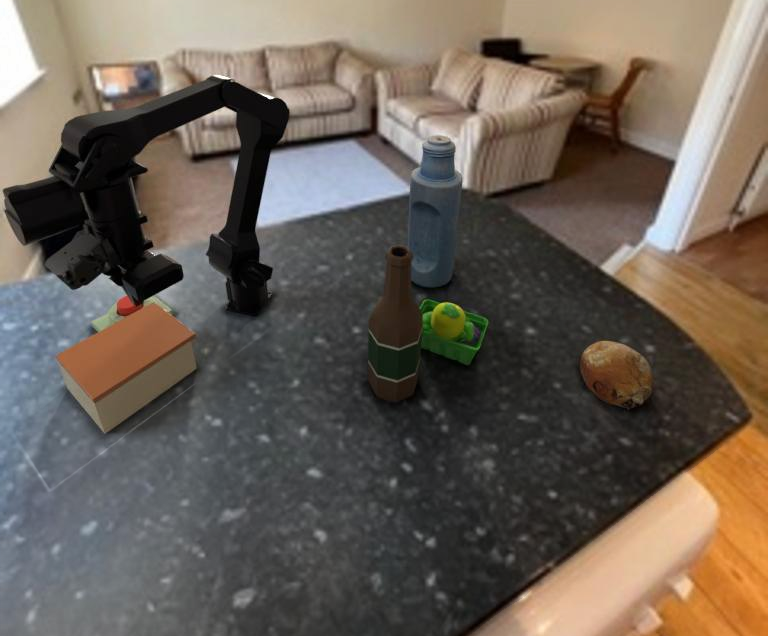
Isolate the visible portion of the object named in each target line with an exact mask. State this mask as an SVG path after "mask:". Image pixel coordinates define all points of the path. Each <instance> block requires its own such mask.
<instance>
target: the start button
mask: <svg viewBox="0 0 768 636" xmlns="http://www.w3.org/2000/svg"><path fill="white" fill-rule="evenodd" d="M116 302H117V308H118V312H119V314H120V315H121V316H129V315H131V314H133V313H135V312H136V311H138V310H140V309H142V304H141V305H139V306H137V307H136V306H135V305H133V303H132V302H131V300H130V299H129V298H128V296H127V295H125V296H123V297H121V298H120V299H119V300H118V301H116Z"/></svg>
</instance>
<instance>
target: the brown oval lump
mask: <svg viewBox="0 0 768 636" xmlns="http://www.w3.org/2000/svg"><path fill="white" fill-rule="evenodd" d="M579 365H580V366H579V367H580V373H581V377H582V378H583V381H584V383H585V385H586V387H587V388H588V389H589V391H590V392H591V393H592V394H593V395H594V396H595V397H596V398H598V399H599V400H600V401H602V402H604V403H606V404H608V405H611V406H616V407H619V408H622V409H627V410H631V409H633V408H636V407H641V406H642V405H643V404H644V402H645V401H646V400H647V399H648V398H649V397H650V396H651V394H652V393H653V386H654V375H653V374H654V373H653V370H652V368H651V366H650V363H649V362H648V360H647V359H646V358H645V357H644V356H643V355H641V353H639V352H637V351H636V350H635V349H633V348H631V347H630V346H627V345H626V344H623V343H621V342H616V341H613V340H612V341H611V340H600V341H597V342H595V343H592V344H590V345H588V346H587V348H586V349H585V350H584V351H583V352H582V355H581V359H580V364H579Z"/></svg>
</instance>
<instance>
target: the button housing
mask: <svg viewBox="0 0 768 636" xmlns="http://www.w3.org/2000/svg"><path fill="white" fill-rule="evenodd" d="M117 302H118V301H116V302H115V303H114V304H113V305H111V307H110V308H109V309H108V312H107V313H105V314H103V315H102V316H99V317H98V318H96V319H94V320H92V321H91V325H92V327H93V328H94V330H96V332H97V333H98V332H100V331H102V330H103V329H105V328H107V327H109V326H111V325H113V324H114V323H116V322H118V321H120V320H122V319H124V318H125V317H127V316H121V315H120V314H119V312H118V308H117ZM153 302H155V303H156V304H158V305H159V306H160V307H162V308H163V309H164V310H165V311H167V312H168V313H169V314H170V315H172V316H173V315H174V313H173V310H172V308H171V307H169V306H168V305H166V304H165V303H164V302H163V301H161V300H159V298H158V297H156V296H155V295H154V296H152V297H150V298H148V299H146V300H144V302H143V304H142V308H144V307H146V306H147V305H149V304H151V303H153Z"/></svg>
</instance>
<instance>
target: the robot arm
mask: <svg viewBox="0 0 768 636" xmlns="http://www.w3.org/2000/svg"><path fill="white" fill-rule="evenodd" d="M223 108H225V109H228V110H229V111H231V112H234V113H235V115H236V117H235V127H236V131H237V134H238V137H239V141H240V149H239V154H238V159H237V164H236V170H235V175H234V180H233V185H232V191H231V195H230V201H229V206H228V212H227V217H226V221H225V225H224V227H222V228H221V230H220V231H219V232H218V233H211V234H210V236H209V245H208V248H207V250H206V252H205V256H206V257H208V264H209V265H210V266H211V267H212V268H213V269H214V270H215V271H217V272H218V273H220V274H221V275H223V276H224V277H226V281H225V282H224V284H225V291H226V297H227V301H228V303H227V304H226V305H225V307H224V309H225V311H227V312H232V313H236V314H237V313H238V314H241V315H246V316H252V317H257V316H259V314H260V313H261V312H262V310H263V309H264V307H265V306H266V305H267V304H268V302H269V301H270V299H271V298H272V296H273V295H274V294H273V291H270V290H268V281H270V280H271V279H272V275H273V271H274V268H273V267H272V266H271V265H269V264H267V263H265V262H264V261H262V260H260V258H261V257H260V256H261V247H260V243H259V239H258V236H257V232H256V227H257V222H258V219H259V218H258V217H259V213H260V209H261V208H260V207H261V203H262V198H263V193H264V188H265V183H266V177H267V173H268V168H269V163H270V159H271V153H272V151H273V149H274V148H275V147H276V146H277V145H278V143H280V141H282V139H283V137H284V135H285V132H286V130H287V126H288V123H289V120H290V116H291V115H290V113H291V112H290V108H289V107H288V104H287V103H286V102H285V100H283V99H282V98H280V97H277V96H273V95H269V94H265V93H262V92H259V91H255V90H253V89H251V88H248V87H246V86H244V85H243V84H241V83H240V82H238V81H237V80H235V79H234V78H230V77H226V76H222V75H219V74H212V75H210V76H208V77H207V78H205V80H202V81H199V82H196V83H194V84H192V85H189V86H185V87H183V88H180V89H177V90H176V91H173V92H170V93H168V94H166V95H163V96H160V97H157V98H154V99H151V100H149V101H147V102H145V103H143V104H139V105H136V106H134V107H128V108H123V109H122V108H121V109H110V110H108V109H107V110H102V111H97V112H92V113H87V114H81V115H78V116H77V115H76V116H75V117H73V118H71V119H69V120H68V121H67V122H65V124H64V127H63V129H62V131H61V134H60V143H61V144H60V146H59V149H58V150H57V153H56V154H55V156H54V158H53V160H52V163H51V164H50V166H49V169H48V173H49V174H51V176H50V177H47V178H43V179H40V180H36V181H33V182H29V183H23V184H15V185H12V186H7V187H5V188H3V189H2V193H3V196H4V199H3V203H4V207H5V209H4V210H3V211H4V214H5V217H6V219H7V222H8V224H9V226H10V228H11V230H12V232H13V233H14V235H15V237H16V239H17V240H18V242H19V243H20V244H21V245H22V246H24V247H26V246H29V245H31V244H33V243H36V242H39V241H43V240H45V239H47V238H50V237H53V236H56V235H59V234H62V233H65V232H67V231H70V230H73V229H76V228H78V227H80V225H81V224H82V227H83V229H81V230H79V231H76V233H75V235H74V236H73V238H71V241H70V242H68V243H67V244H66V245H64V246H63V247H61V248H60V249H59V250H58V251H56V252H55V253H54V254H52V255H50V256H49V257H48V258H47V259H46V260H45V262H44V266H45V267H46V268H47V269H48V270H49V271H50V272H51V273H53V274H54V275H55V276H56V277H57V278H58V279H59V280H60V281H61V282H62V283H64V285H66V287H68V289H70V290H72V291H76V290H79V289H80V288H82V287H85V286H88V285H90V284H91V283H92V282H93V281H94V280H96V279H97V278H98V277H99V276H101V275H104V276H107V277H108V279H109V280H110V281H111V282H113V284H115V285H116V286H118V287H121V289H122V290H123V292H124V293H125V294H126V295H125V296H128V298H129V299H130V300H131V302H132V303H133V305H135V306H136V307H137V306H139V305H141V304H143V302H144V300H146V299H148V298H150V297H152V296H154V297H155V295H158V294H160V293H161V292H163V291H166V290H167V289H168V288H171V287H172V286H174V285H176V284H177V283H180V282H182V281H183V280H184V277H185V275H184V270H183V265H182V264H181V263H179V262H178V261H176V260H174V259H173V258H172V257H170V256H168V255H166V254H163V253H158V254H155V253H153V252H152V251H151V249H153V248H154V242H153V240H152V239H150V238H148V237H147V236H146V233H145V229H144V225H143V224H146V223H148V222H149V221H148V216H147V215H146V214H145V213H144V212H142V211H140V208H139V204H138V200H137V195H136V192H135V187H134V183H133V178H134V177H137V176H141V175H144V174H146V173H148V171H149V168H148V167H146V166H145V165H143V164H141V163H139V162H137V161H136V160H134V158H135V157H137V156H138V155H141V153H142V152H143V150H145V148H146V147H147V146H148V144H150V143H151V142H152V141H153V140H155V139H157V138H158V137H160V136H162V135H164V134H167V133H169V132H171V131H174V130H176V129H178V128H180V127H183V126H185V125H187V124H189V123H192V122H194V121H196V120H199V119H201V118H203V117H205V116H207V115H210V114H212V113H214V112H217V111H219V110H221V109H223ZM78 163H82V165H81V167H80V168H79V167H77V166H76V165H78ZM82 198H83V199H82ZM86 214H87V216H88V219H85V216H86Z"/></svg>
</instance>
